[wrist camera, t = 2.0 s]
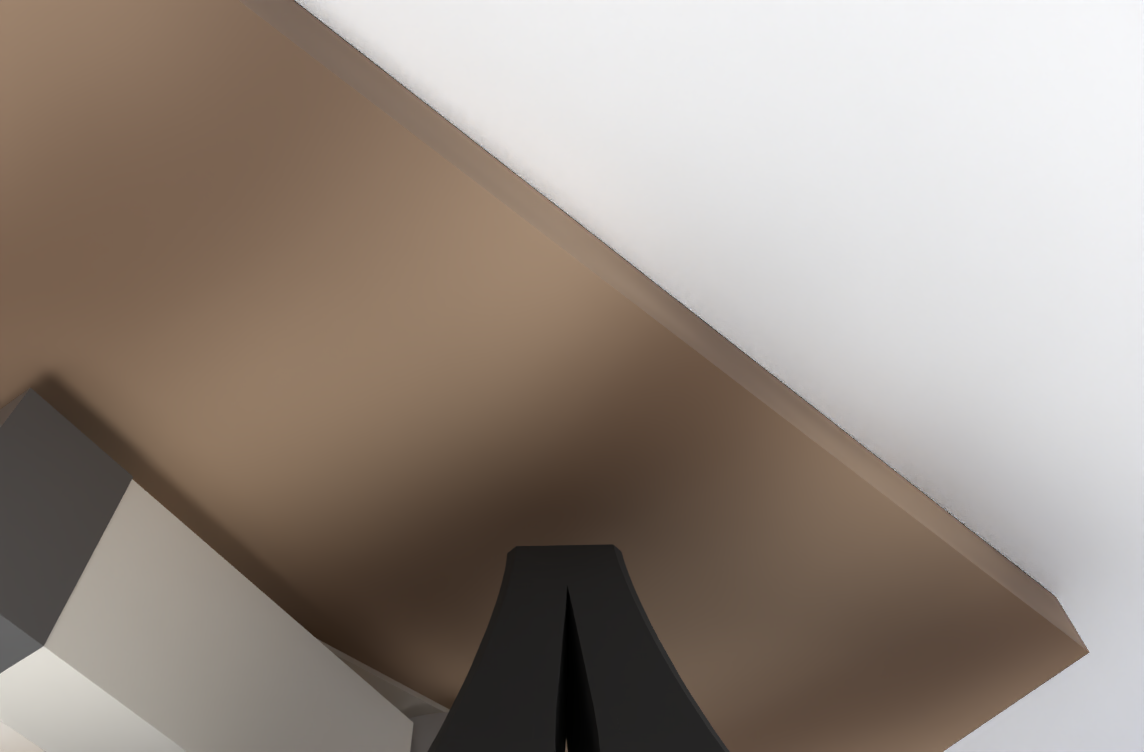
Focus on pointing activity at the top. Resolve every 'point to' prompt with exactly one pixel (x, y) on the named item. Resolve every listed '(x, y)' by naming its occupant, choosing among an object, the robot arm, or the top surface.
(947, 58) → the top surface
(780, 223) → the top surface
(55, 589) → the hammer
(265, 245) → the brown tray
